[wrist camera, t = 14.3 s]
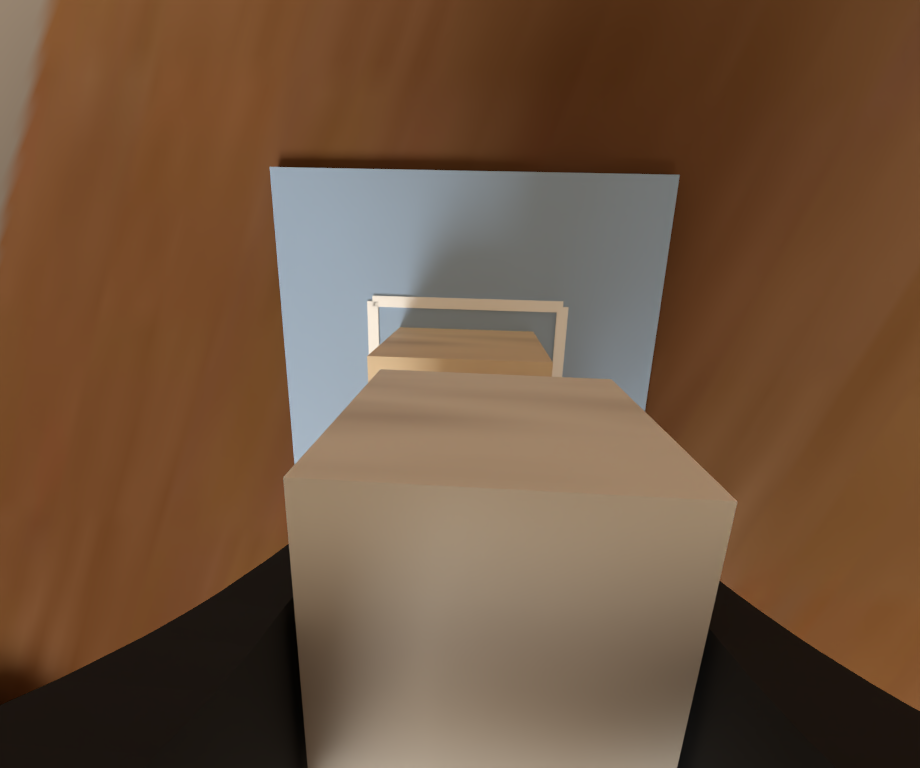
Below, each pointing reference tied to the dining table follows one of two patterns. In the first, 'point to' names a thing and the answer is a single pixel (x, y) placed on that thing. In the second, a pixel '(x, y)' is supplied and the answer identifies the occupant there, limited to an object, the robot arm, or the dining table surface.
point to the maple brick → (461, 352)
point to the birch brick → (500, 576)
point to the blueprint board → (465, 270)
